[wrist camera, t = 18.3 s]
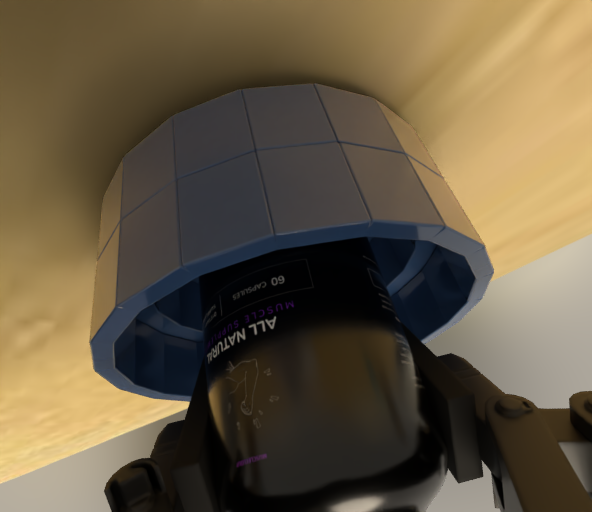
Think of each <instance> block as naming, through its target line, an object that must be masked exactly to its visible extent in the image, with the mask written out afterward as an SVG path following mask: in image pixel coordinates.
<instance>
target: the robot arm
mask: <svg viewBox="0 0 592 512" xmlns="http://www.w3.org/2000/svg"><path fill="white" fill-rule="evenodd" d="M400 323H401V325H402V328H403V330H404V333H405V335H406V338H407V341H408V343H409V346H410V348H411V351H412V354H413V356H414V359H415V361H416V364H417V367H418V369H419V372H420V374H421V377H422V380H423V382H424V385H425V387H426V390H427V393H428V395H429V398H430V400H431V403H432V406H433V408H434V411H435V413H436V416H437V419H438V421H439V424H440V426H441V429H442V432H443V435H444V438H445V441H446V444H447V447H448V455H449V460H448V469H449V470H450V471H451V473H452V475H453V476H454V478H455V479H456V480H457V482H458V483H461V482H465V481H469V480H473V479H477V478H480V477H483V470H482V461H483V462H484V463H485V464H486V466H487V467H488V468H489V469H490V471H491V475H492V484H493V494H494V503H495V508H500V510H501V512H592V391H584V392H579V393H576V394H573V395H572V396H571V398H569V404H570V408H568V409H540V408H537V407H536V406H535V405H534V404H533V403H532V402H531V401H529V400H527V399H526V398H523V397H520V396H516V395H510V394H505V393H504V392H502V391H501V390H500V389H499V388H498V387H497V386H495V385H494V384H493V383H492V382H491V381H490V380H488V379H487V378H486V377H485V376H484V375H483V374H481V373H480V372H479V371H478V370H477V369H476V368H473V366H472V365H471V364H470V363H469V362H468V361H466V360H465V359H464V358H461V357H459V356H457V355H454V354H451V353H450V354H447V355H442V356H438V357H437V356H435V355H434V354H433V353H432V352H431V351H430V350H429V349H428V348H427V347H426V346H425V345H424V344H423V343H422V342H421V341H420V340H419V339H418V338H417V337H416V336H415V335H414V334H413V333H412V332H411V331H410V330H409V329H408V328H407V327H406V326H405V325H404V324H403V323H402V322H401V321H400ZM104 492H105V495H106V497H107V500H108V503H109V505H110V508H111V510H112V512H220V511H219V509H218V506H217V499H216V489H215V482H214V469H213V457H212V444H211V431H210V418H209V406H208V393H207V380H206V367H205V354H204V358H203V361H202V364H201V368H200V371H199V374H198V377H197V381H196V384H195V387H194V391H193V394H192V397H191V401H190V404H189V407H188V411H187V414H186V417H185V420H181V421H177V422H173V423H169V424H167V426H166V427H165V428H164V429H163V430H162V431H161V433H160V434H159V435H158V437H157V440H156V442H155V445H154V449H153V451H152V453H151V455H150V458H142V459H138V460H135V461H133V462H131V463H128V464H127V465H125V466H123V467H122V468H120V469H119V470H118V471H117V472H116V473H115V474H113V475H112V477H111V478H110V479H109V481H108V482H107V483H106V487H105V490H104Z"/></svg>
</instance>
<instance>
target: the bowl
mask: <svg viewBox="0 0 592 512" xmlns="http://www.w3.org/2000/svg"><path fill="white" fill-rule="evenodd" d="M360 237H367V238H368V240H369V243H370V245H371V248H372V250H373V253H374V255H375V258H376V260H377V263H378V265H379V268H380V271H381V273H382V276H383V278H384V281H385V284H386V286H387V289H388V291H389V294H390V297H391V299H392V302H393V304H394V307H395V310H396V312H397V315H398V317H399V320H400V321H401V322H402V323H403V324H404V325H405V326H406V327H407V328H408V329H409V330H410V331H411V332H412V333H413V334H414V335H415V336H416V337H417V338H418V339H419V340H420V341H421V342H422V343H423V344H426V343H427V342H429V341H430V340H432V339H433V338H435V337H436V336H438V335H439V334H441V333H442V332H444V331H446V330H447V329H449V328H450V327H451V326H453V325H455V324H456V323H458V322H459V321H460V320H461V319H462V318H463V317H464V316H465V315H466V314H467V313H468V312H469V311H470V310H471V309H472V308H473V307H474V306H475V305H476V304H477V303H478V302H479V301H480V300H481V299H482V298H483V296H484V294H485V292H486V290H487V287H488V285H489V283H490V280H491V278H492V276H493V274H494V269H493V266H492V263H491V260H490V258H489V255H488V252H487V250H486V247H485V245H484V243H483V241H482V240H481V238H480V236H479V235H478V233H477V232H476V230H475V228H474V227H473V225H472V223H471V222H470V220H469V218H468V217H467V215H466V214H465V212H464V210H463V209H462V207H461V205H460V204H459V202H458V200H457V199H456V197H455V195H454V194H453V192H452V191H451V189H450V187H449V186H448V184H447V182H446V181H445V179H444V177H443V176H442V174H441V172H440V171H439V169H438V168H437V166H436V164H435V163H434V161H433V159H432V158H431V156H430V154H429V153H428V151H427V149H426V148H425V146H424V145H423V143H422V141H421V140H420V138H419V136H418V135H417V133H416V131H415V130H414V128H413V127H412V126H411V125H410V124H409V123H407V122H406V121H405V120H403V119H402V118H401V117H399V116H398V115H397V114H395V113H394V112H393V111H391V110H390V109H389V108H387V107H386V106H385V105H383V104H382V103H381V102H379V101H378V100H376V99H375V98H373V97H369V96H365V95H361V94H357V93H353V92H349V91H345V90H341V89H337V88H333V87H329V86H325V85H321V84H317V83H314V84H312V83H308V84H295V85H282V86H269V87H256V88H244V89H242V90H241V89H238V90H235V91H233V92H230V93H227V94H225V95H222V96H220V97H217V98H215V99H212V100H210V101H207V102H204V103H202V104H199V105H197V106H194V107H192V108H189V109H186V110H184V111H181V112H179V113H176V114H174V115H173V116H171V117H169V118H168V119H167V120H166V121H165V122H163V123H162V124H161V125H160V126H159V127H157V128H156V129H155V130H154V131H153V132H152V133H150V134H149V135H148V136H147V137H146V138H144V139H143V140H142V141H141V142H140V143H138V144H137V145H136V146H135V147H134V148H132V149H131V150H130V151H129V152H128V153H126V154H125V156H124V157H123V159H122V161H121V163H120V165H119V167H118V169H117V171H116V173H115V175H114V177H113V179H112V181H111V183H110V185H109V187H108V189H107V191H106V193H105V195H104V197H103V201H102V211H101V222H100V233H99V244H98V254H97V265H96V276H95V287H94V298H93V308H92V319H91V330H90V341H89V343H90V350H91V356H92V362H93V369H94V370H95V372H96V373H98V374H99V375H100V376H102V377H103V378H104V379H106V380H107V381H109V382H110V383H111V384H113V385H114V386H115V387H117V388H119V389H121V390H124V391H128V392H131V393H135V394H139V395H142V396H146V397H149V398H154V399H165V400H177V401H189V402H190V401H191V397H192V394H193V391H194V387H195V384H196V381H197V377H198V374H199V371H200V368H201V364H202V361H203V358H204V342H203V329H202V316H201V303H200V290H199V276H201V275H204V274H207V273H210V272H213V271H216V270H219V269H222V268H225V267H228V266H231V265H234V264H237V263H240V262H243V261H246V260H249V259H252V258H255V257H258V256H261V255H264V254H267V253H269V252H272V251H275V250H280V249H286V248H293V247H300V246H306V245H313V244H320V243H327V242H333V241H340V240H347V239H353V238H360Z"/></svg>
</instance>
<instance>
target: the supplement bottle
mask: <svg viewBox="0 0 592 512" xmlns="http://www.w3.org/2000/svg"><path fill="white" fill-rule="evenodd" d="M199 290H200V303H201V316H202V329H203V342H204V354H205V367H206V380H207V393H208V406H209V418H210V431H211V444H212V457H213V469H214V482H215V489H216V499H217V506H218V509H219V511H220V512H426V509H427V508H428V506H429V505H430V503H431V502H432V501H433V499H434V498H435V496H436V495H437V494H438V492H439V491H440V489H441V487H442V486H443V483H444V481H445V479H446V475H447V471H448V460H449V455H448V447H447V444H446V441H445V438H444V435H443V432H442V429H441V426H440V424H439V421H438V419H437V416H436V413H435V411H434V408H433V406H432V403H431V400H430V398H429V395H428V393H427V390H426V387H425V385H424V382H423V380H422V377H421V374H420V372H419V369H418V367H417V364H416V361H415V359H414V356H413V354H412V351H411V348H410V346H409V343H408V341H407V338H406V335H405V333H404V330H403V328H402V325H401V323H400V320H399V317H398V315H397V312H396V310H395V307H394V304H393V302H392V299H391V297H390V294H389V291H388V289H387V286H386V284H385V281H384V278H383V276H382V273H381V271H380V268H379V265H378V263H377V260H376V258H375V255H374V253H373V250H372V248H371V245H370V243H369V240H368V238H367V237H360V238H353V239H347V240H340V241H333V242H327V243H320V244H313V245H306V246H300V247H293V248H286V249H280V250H275V251H272V252H269V253H267V254H264V255H261V256H258V257H255V258H252V259H249V260H246V261H243V262H240V263H237V264H234V265H231V266H228V267H225V268H222V269H219V270H216V271H213V272H210V273H207V274H204V275H201V276H199Z"/></svg>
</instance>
